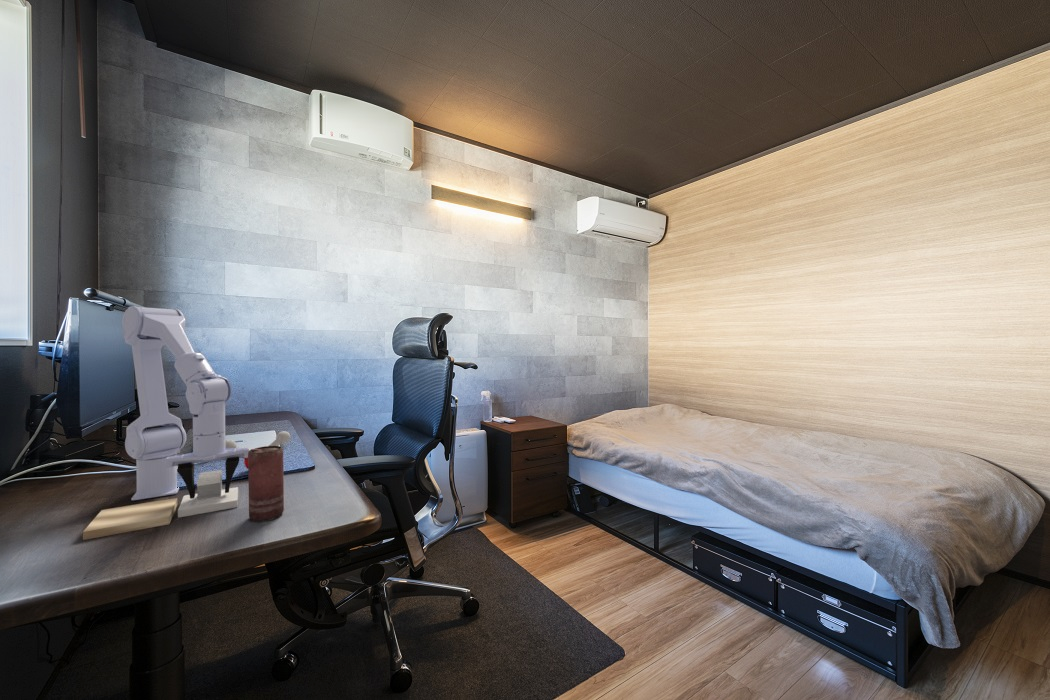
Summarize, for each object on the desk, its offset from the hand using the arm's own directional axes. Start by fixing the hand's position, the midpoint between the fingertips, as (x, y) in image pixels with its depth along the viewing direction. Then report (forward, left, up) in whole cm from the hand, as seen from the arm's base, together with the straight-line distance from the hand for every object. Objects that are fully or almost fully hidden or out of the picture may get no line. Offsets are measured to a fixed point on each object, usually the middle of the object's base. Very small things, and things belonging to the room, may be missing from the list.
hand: (210, 494), depth 92 cm
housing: (0, 0, -1) cm, 1 cm away
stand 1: (+2, -12, -2) cm, 12 cm away
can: (+14, +10, -2) cm, 17 cm away
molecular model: (-24, +9, -2) cm, 26 cm away
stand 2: (0, 0, -2) cm, 2 cm away
